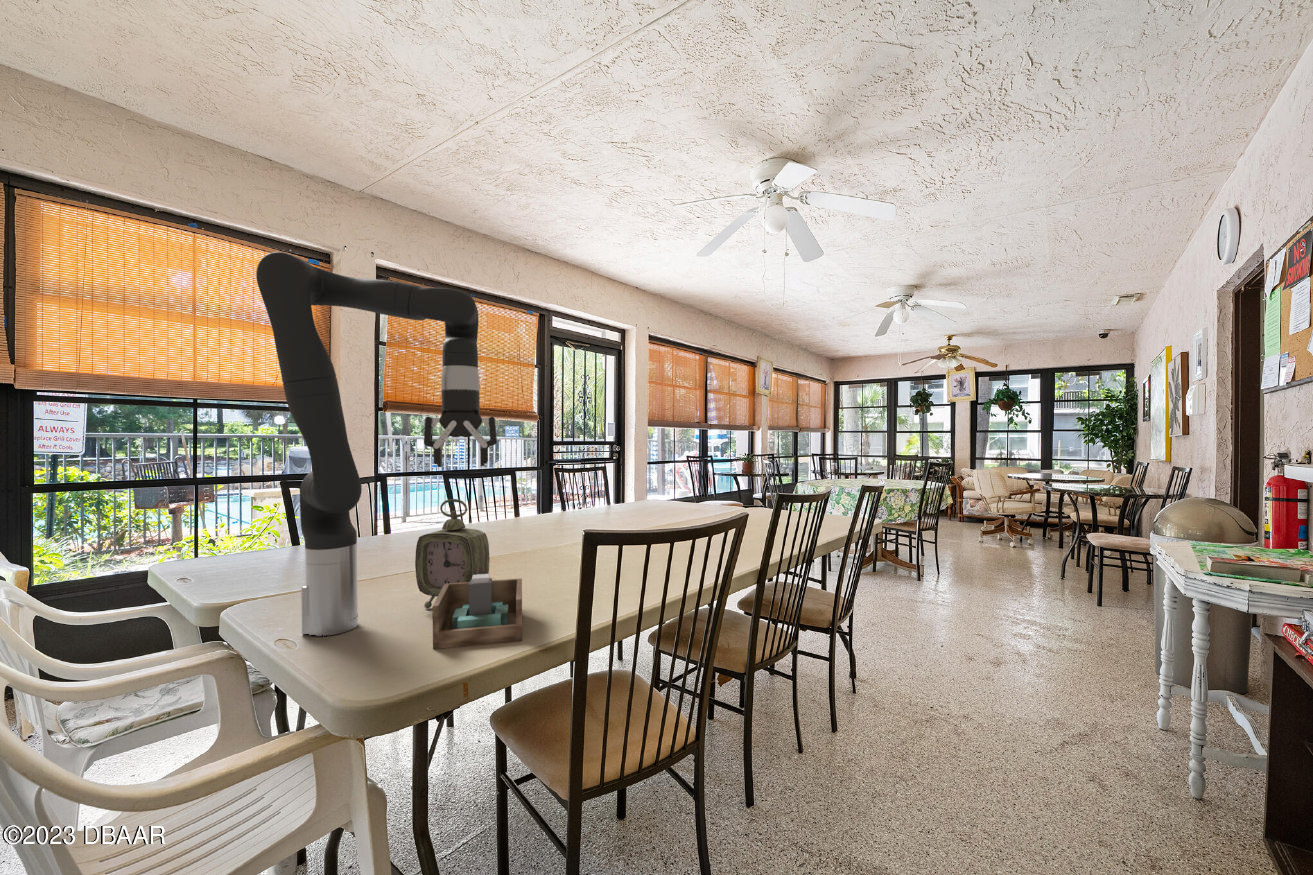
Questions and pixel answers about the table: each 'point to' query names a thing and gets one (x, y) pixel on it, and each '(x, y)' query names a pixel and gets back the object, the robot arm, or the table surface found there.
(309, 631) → the robot arm
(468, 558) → the tabletop clock
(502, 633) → the walled box
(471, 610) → the block
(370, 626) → the table surface
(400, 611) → the table surface
